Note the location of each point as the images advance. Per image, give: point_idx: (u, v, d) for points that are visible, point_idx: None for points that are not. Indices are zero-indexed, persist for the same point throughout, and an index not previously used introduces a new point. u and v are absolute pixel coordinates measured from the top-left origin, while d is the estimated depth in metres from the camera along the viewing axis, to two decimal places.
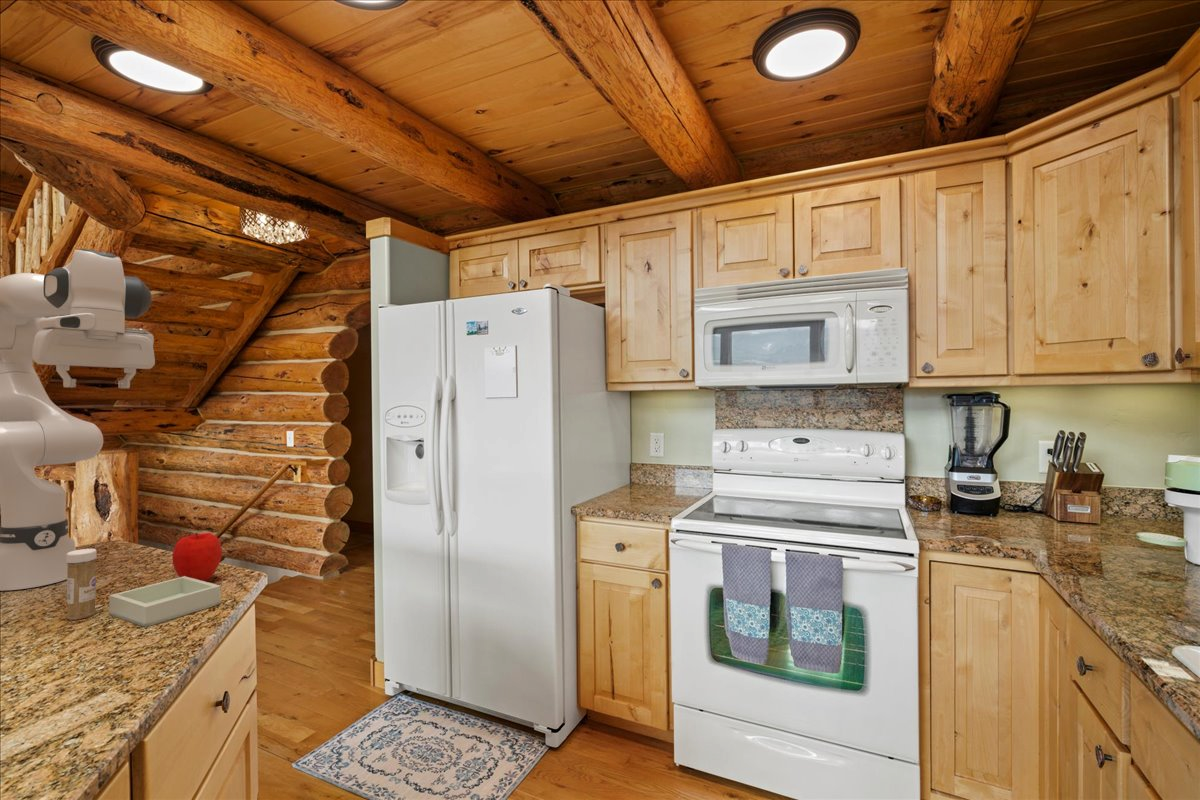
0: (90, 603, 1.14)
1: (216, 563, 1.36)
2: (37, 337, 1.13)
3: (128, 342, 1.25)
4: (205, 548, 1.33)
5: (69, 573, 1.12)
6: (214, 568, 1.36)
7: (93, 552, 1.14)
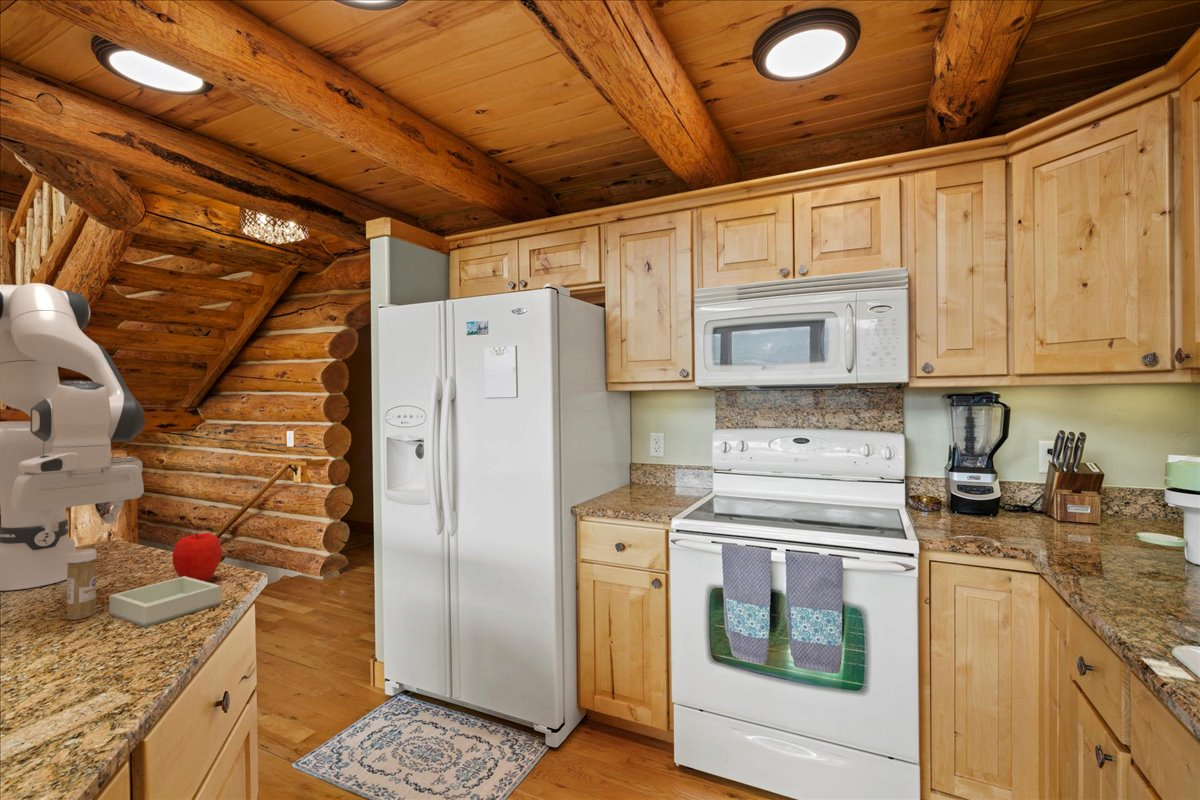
0: (90, 603, 1.14)
1: (216, 563, 1.36)
2: (16, 483, 1.06)
3: (115, 474, 1.18)
4: (205, 548, 1.33)
5: (69, 573, 1.12)
6: (214, 568, 1.36)
7: (93, 552, 1.14)
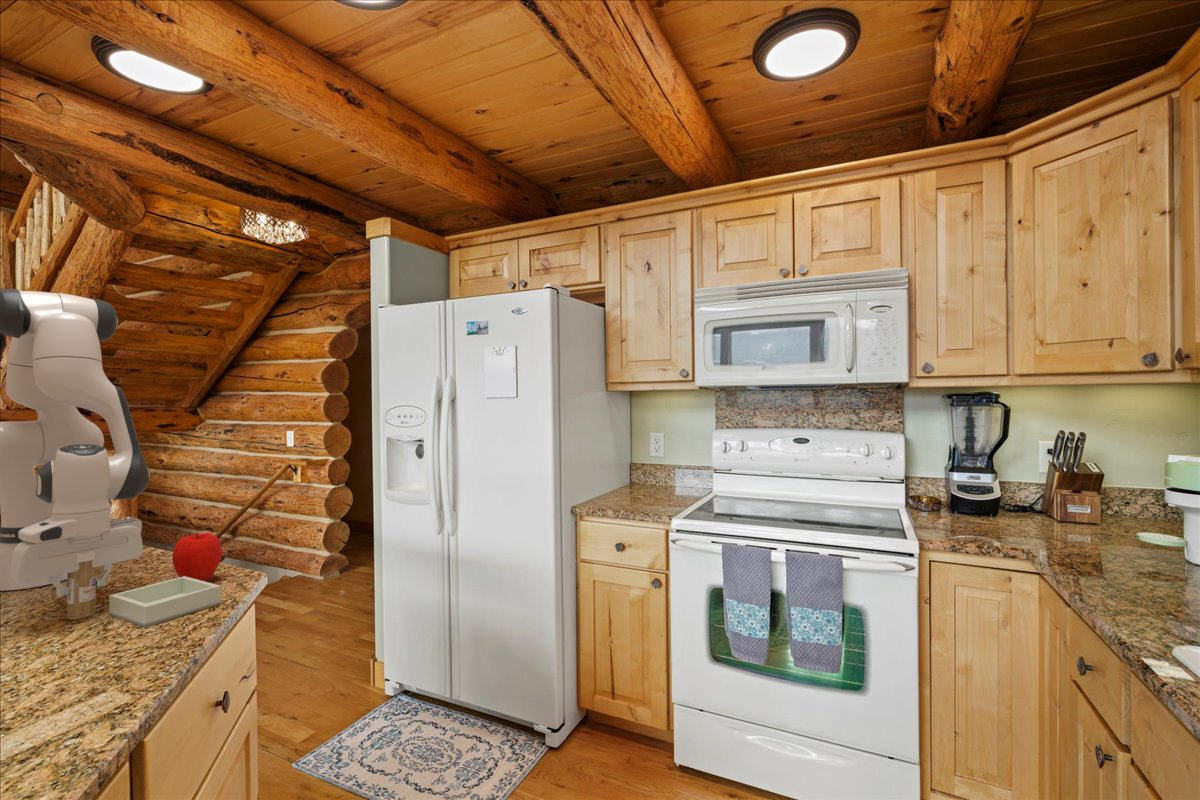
0: (90, 603, 1.14)
1: (216, 563, 1.36)
2: (16, 553, 1.06)
3: (115, 537, 1.18)
4: (205, 548, 1.33)
5: (69, 573, 1.12)
6: (214, 568, 1.36)
7: (93, 552, 1.14)
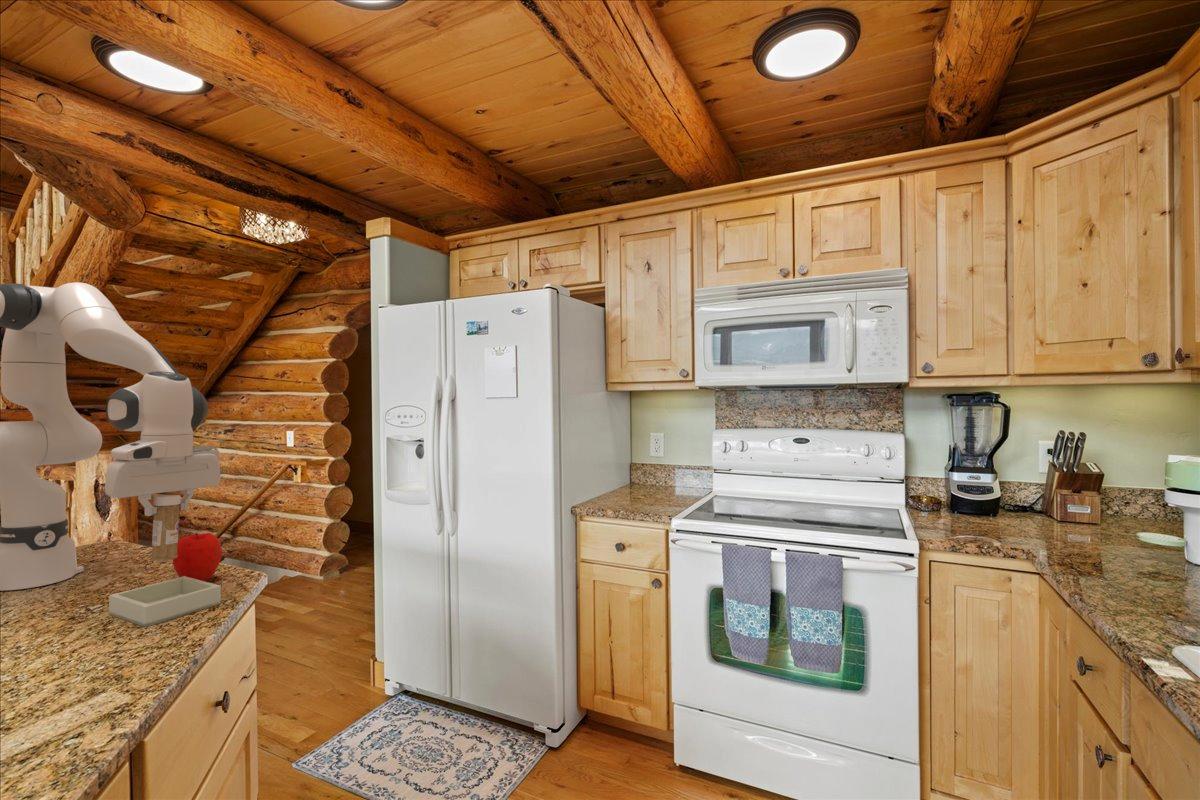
0: (174, 546, 1.18)
1: (216, 563, 1.36)
2: (110, 470, 1.10)
3: (196, 462, 1.22)
4: (205, 548, 1.33)
5: (157, 516, 1.16)
6: (214, 568, 1.36)
7: (179, 497, 1.19)
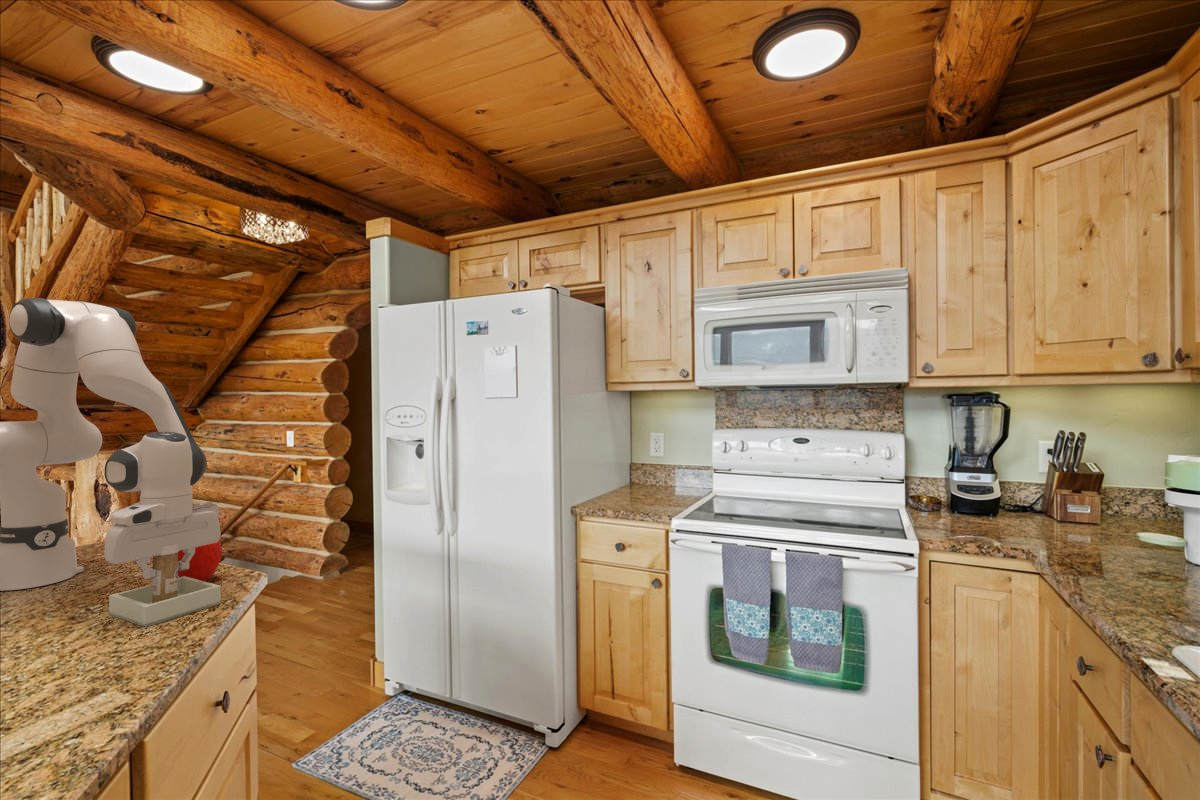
0: (174, 594, 1.18)
1: (216, 563, 1.36)
2: (109, 535, 1.10)
3: (196, 521, 1.22)
4: (205, 548, 1.33)
5: (155, 565, 1.16)
6: (214, 568, 1.36)
7: (177, 545, 1.18)
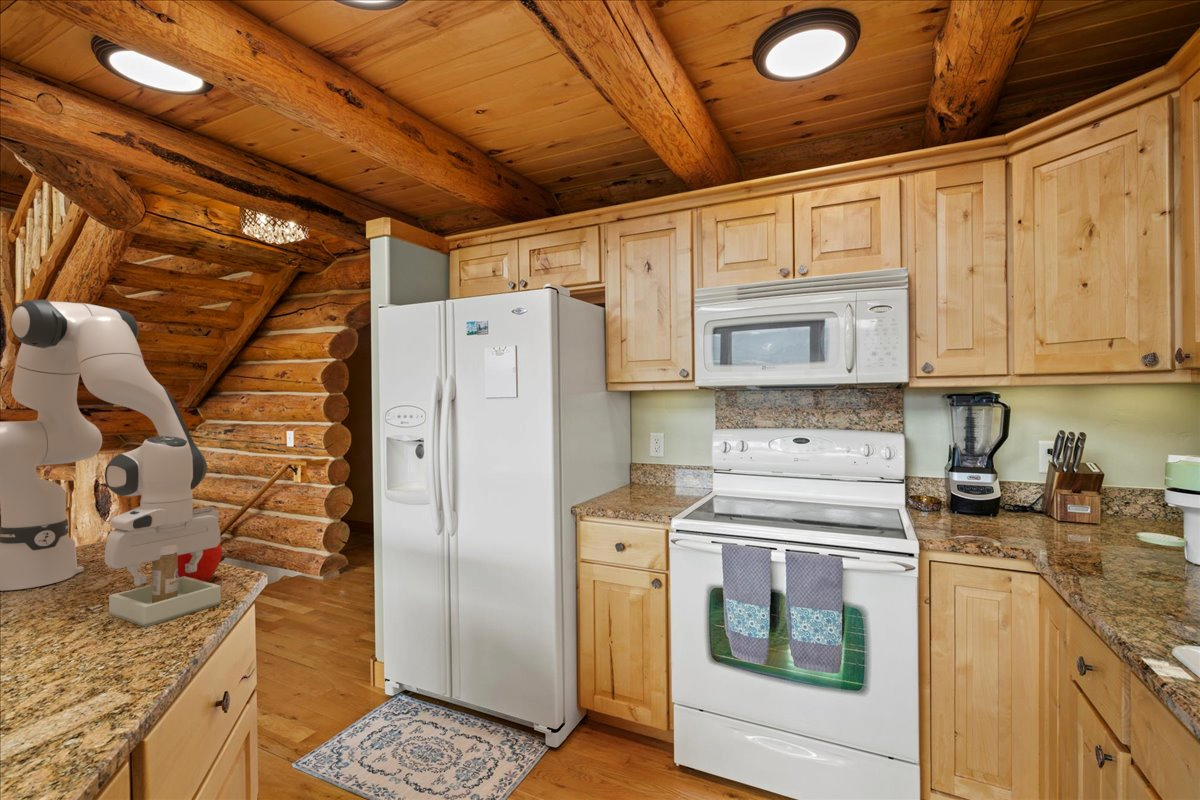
0: (174, 594, 1.18)
1: (216, 563, 1.36)
2: (110, 540, 1.10)
3: (196, 526, 1.22)
4: None
5: (155, 565, 1.16)
6: (214, 568, 1.36)
7: (177, 545, 1.18)
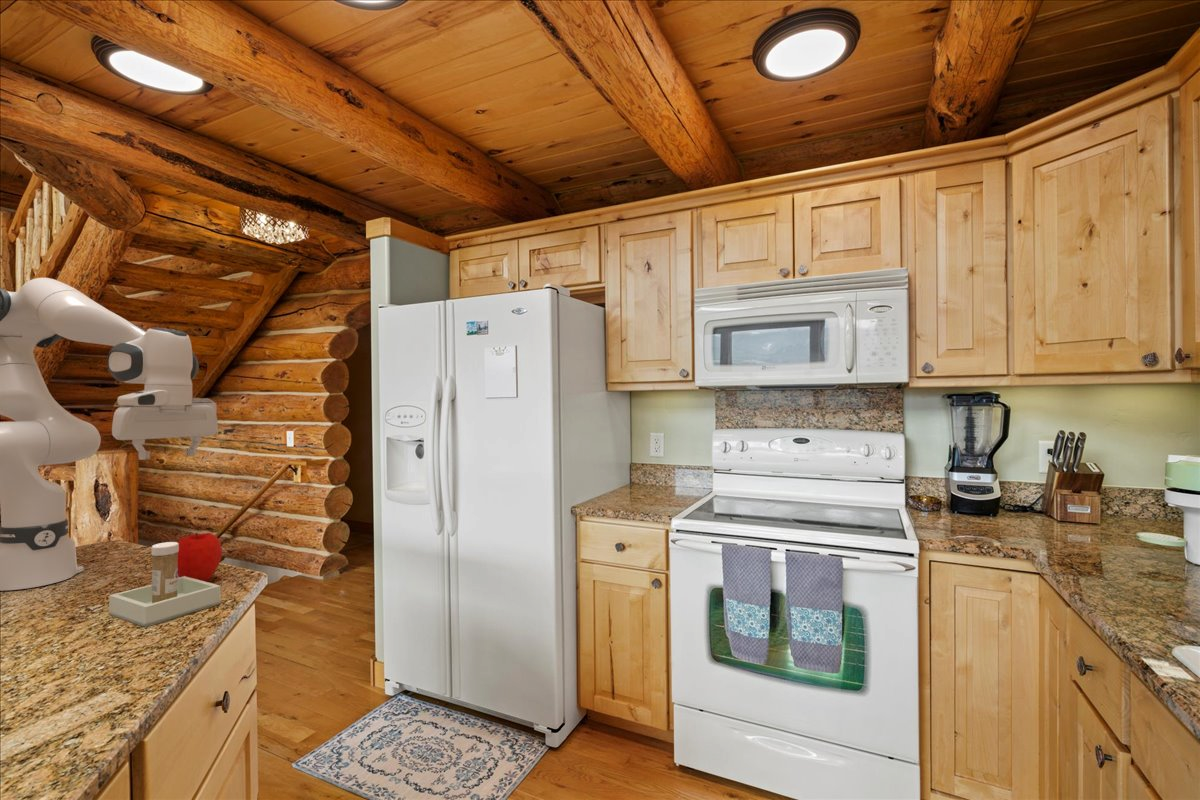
0: (174, 594, 1.18)
1: (216, 563, 1.36)
2: (117, 414, 1.21)
3: (195, 412, 1.32)
4: (205, 548, 1.33)
5: (155, 565, 1.16)
6: (214, 568, 1.36)
7: (177, 545, 1.18)
